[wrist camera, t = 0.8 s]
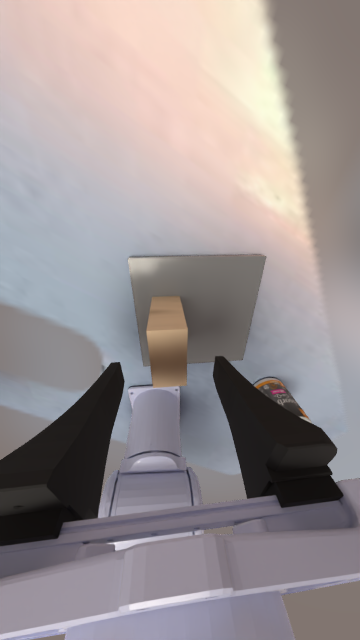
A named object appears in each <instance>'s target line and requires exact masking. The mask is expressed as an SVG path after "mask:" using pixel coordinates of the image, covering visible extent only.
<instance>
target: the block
mask: <svg viewBox="0 0 360 640" xmlns="http://www.w3.org/2000/svg"><path fill="white" fill-rule="evenodd" d="M146 332H147V340H148V349H149V357H150V366H151V374H152V383H153V388H160V387H173V386H186V385H187V339H188V328H187V324H186V320H185V316H184V312H183V308H182V304H181V300H180V296H163V297H152V301H151V307H150V313H149V319H148V324H147V330H146Z"/></svg>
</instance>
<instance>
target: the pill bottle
mask: <svg viewBox="0 0 360 640" xmlns="http://www.w3.org/2000/svg"><path fill="white" fill-rule="evenodd" d="M253 386H255V387H256V388H257V389H258V390H260V391H261V392H262V393H263V394H265V395H266V396H267V397H269V398H270V399H272V400H273V401H275V402H276V403H278V404H279V405H281V406H282V407H284V408H285V409H287V410H288V411H290V412H292V413H294V414H295V415H297V416H299V417H300V418H302V419H304V420H306V421H308V422H310V423H312V422H311V420H310V419H309V418H308V416H307V415H306V414H305V413H304V411H303V410H302V409H301V407H300V406H299V405H298V403H297V402H296V401H295V399H294V398H293V397H292V395H291V394H290V393H289V391H288V390H287V389H286V387H285V386H284V385H283V384H282V382H281V381H280V380H278V379H275V378H265V379H262V380H260V381H258V382H257V383H255V384H254V385H253Z"/></svg>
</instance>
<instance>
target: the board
mask: <svg viewBox="0 0 360 640" xmlns="http://www.w3.org/2000/svg"><path fill="white" fill-rule="evenodd" d="M265 260H266V256H264V255H207V256H144V257H129V258H128V263H129V270H130V277H131V284H132V290H133V297H134V304H135V311H136V318H137V325H138V332H139V339H140V345H141V352H142V359H143V366H150V357H149V349H148V340H147V332H146V330H147V324H148V319H149V313H150V307H151V301H152V297H163V296H180V300H181V304H182V308H183V312H184V316H185V320H186V324H187V328H188V339H187V364H190V363H205V362H215V356H224V357H225V358H226V359H227V360H228V361H236V360H243V356H244V352H245V347H246V343H247V339H248V334H249V330H250V325H251V321H252V317H253V312H254V308H255V304H256V299H257V295H258V291H259V286H260V282H261V278H262V273H263V269H264V265H265Z"/></svg>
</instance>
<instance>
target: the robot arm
mask: <svg viewBox="0 0 360 640" xmlns="http://www.w3.org/2000/svg"><path fill="white" fill-rule="evenodd" d="M213 378H214V382H215V386H216V389H217V392H218V395H219V398H220V400H221V403H222V406H223V408H224V411H225V414H226V416H227V419H228V422H229V426H230V429H231V433H232V436H233V440H234V444H235V448H236V452H237V456H238V460H239V464H240V468H241V473H242V477H243V481H244V485H245V490H246V495H247V499H242V500H234V501H226V502H219V503H212V504H203V503H202V496H201V490H200V485H199V481H198V478H197V476H196V474H195V473H194V471H193V470H192V468H191V467H186V458H185V457H182V451H181V439H180V427H179V420H180V386H173V387H160V388H153V386H140V387H130V388H129V389H128V393H129V397H130V401H131V406H132V416H131V421H130V427H129V433H128V439H127V445H126V451H125V457H124V459H122V461H121V466H120V472H119V470H115V471H113V473H112V474H111V475H110V476H109V477H108V479H107V481H106V484H105V487H104V490H103V494H102V498H101V502H100V497H101V490H102V484H103V478H104V471H105V465H106V460H107V454H108V449H109V444H110V438H111V434H112V430H113V426H114V422H115V419H116V415H117V412H118V409H119V405H120V402H121V398H122V394H123V388H124V377H123V373H122V369H121V365H120V362H115V363H111V364H110V365H109V366H108V367H107V369H106V370H105V371H104V372H103V373H102V375H101V376H100V377H99V378H98V380H97V381H96V382H95V383H94V384H93V385H92V386H91V387H90V388H89V389H88V391H87V392H86V393H85V394H84V395H83V396H82V397H81V398H80V399H79V400H78V401H77V402H76V403H75V404H74V405H73V406H72V407H71V408H69V409H68V410H67V411H66V412H65V413H64V414H63V415H62V416H60V417H59V418H58V419H57V420H55V421H54V422H53V423H52V424H51V425H49V426H48V427H47V428H46V429H45V430H43V431H42V432H40V433H39V434H38V435H36V436H35V437H34V438H32V439H31V440H29V441H28V442H27V443H25V444H24V445H23V446H21V447H19V448H18V449H16V450H15V451H13V452H12V453H10V454H9V455H7V456H6V457H4V458H3V459H1V460H0V640H30V639H35V638H42V637H48V636H53V635H59V634H66V635H65V640H295V637H294V634H293V630H292V627H291V625H290V621H289V618H288V615H287V612H286V609H285V606H284V602H283V599H282V596H281V595H285V594H290V593H296V592H301V591H306V590H312V589H316V588H322V587H328V586H333V585H338V584H343V583H348V582H354V581H360V478H356V479H348V480H341V481H338V482H336V483H335V482H334V480H333V479H332V477H331V476H330V475H332V471H331V470H330V468H329V467H328V466H327V464H328V463H329V462H330V461H331V460H332V459H333V458H334V456H335V455H336V453H337V448H336V446H335V445H334V444H333V442H332V441H331V440H330V438H329V437H328V436H327V435H326V433H325V432H324V431H323V430H322V429H321V428H319V427H317V426H316V425H314V424H312V423H310V422H308V421H306V420H304V419H302V418H300V417H299V416H297V415H295V414H294V413H292V412H290V411H288V410H287V409H285V408H284V407H282V406H281V405H279V404H278V403H276V402H275V401H273V400H272V399H270V398H269V397H267V396H266V395H265V394H263V393H262V392H261V391H260V390H258V389H257V388H256V387H255V386H253V385H252V384H251V383H250V382H249V381H248V380H247V379H246V378H244V377H243V376H242V375H241V374H240V373H239V372H238V371H237V370H236V369H235V368H234V367H233V366H232V365H231V364H230V362H229V361H228V360H227V359H226V358H225V357H224V356H215V363H214V371H213ZM99 505H100V506H99ZM234 525H236V526H234ZM227 526H233V534H221V535H220V534H204V530H206V529H213V528H220V527H227Z"/></svg>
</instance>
